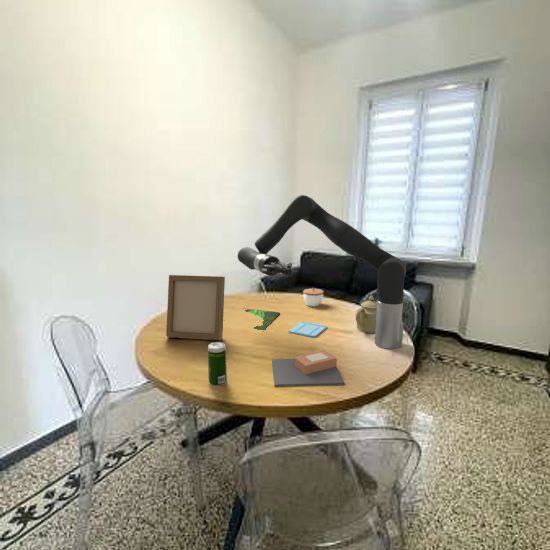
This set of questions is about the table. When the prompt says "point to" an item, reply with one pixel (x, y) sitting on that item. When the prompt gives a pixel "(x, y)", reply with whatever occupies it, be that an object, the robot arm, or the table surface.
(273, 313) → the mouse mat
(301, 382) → the mat
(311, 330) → the blue striped flat panel
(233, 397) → the table surface
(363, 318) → the sugar bowl
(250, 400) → the table surface
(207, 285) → the photo frame
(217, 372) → the beer can
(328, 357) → the card box
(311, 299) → the lidded jar
